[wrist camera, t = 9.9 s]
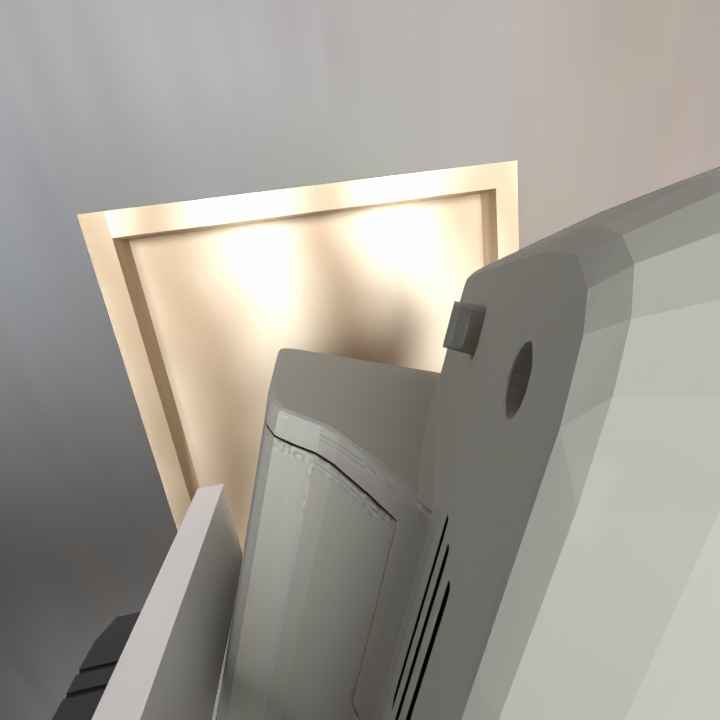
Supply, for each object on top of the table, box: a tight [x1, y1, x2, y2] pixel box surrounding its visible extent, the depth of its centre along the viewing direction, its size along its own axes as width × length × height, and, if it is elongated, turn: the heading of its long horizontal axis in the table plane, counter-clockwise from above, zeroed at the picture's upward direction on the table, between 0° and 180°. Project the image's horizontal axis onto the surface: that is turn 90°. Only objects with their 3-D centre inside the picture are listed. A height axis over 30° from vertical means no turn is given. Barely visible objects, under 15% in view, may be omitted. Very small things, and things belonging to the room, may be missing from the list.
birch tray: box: [77, 161, 519, 606], centre depth 20 cm, size 18×20×2 cm
